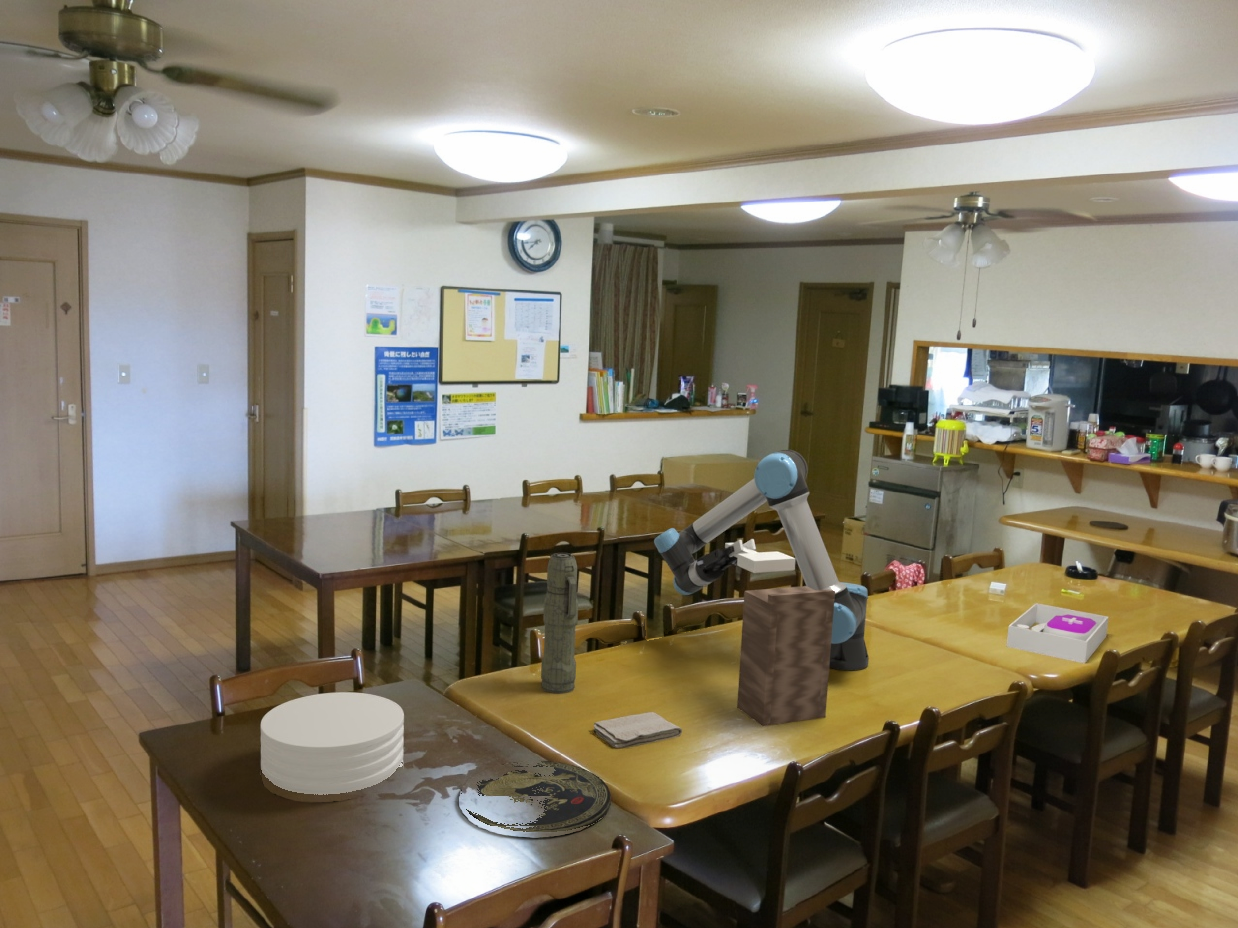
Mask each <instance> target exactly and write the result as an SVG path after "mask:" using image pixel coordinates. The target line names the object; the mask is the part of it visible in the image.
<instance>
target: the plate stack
mask: <svg viewBox="0 0 1238 928" xmlns="http://www.w3.org/2000/svg"><path fill="white" fill-rule="evenodd" d="M404 713H405V712H404V710H403V708H402V707H401V706H400V705H399V704H398V703H396V702H395V701H394V700H392V699H388V698H387V697H383V696H380V695H375V694H370V693H362V692H353V691H351V692H349V691H348V692H340V691H339V692H327V693H317V694H312V695H307V696H302V697H297V698H295V699H291V700H288V701H286V702H283V703H281V704H279V705H277V706H275V707H273V708H272V709H271V710H269V711H267V713H266V714H265V715H264V716H263V717H262V719H261V721H260V745H261V746H260V769H261V770H262V773H263V774H264V775H265V777H266V778H268V779H269V781H271V782H272V783H273V784H274V785H276V786H278V787H280V788H282V789H285V790H288V791H292V792H297V793H304V794H314V795H315V794H316V795H317V794H318V795H323V794H324V795H326V794H327V795H328V794H340V793H346V792H347V793H348V792H352V791H356V790H361V789H364V788H367V787H371V786H373V785H376V784H378V783H380V782H382V781H383V780H385V779H387V778H388V777H390V776H391V775H392V774H393V773H394V772H395V771H396V769H397V768H398V767H402V766H403V767H404V743H405V742H404V739H405V738H404V734H405V728H404V727H405V726H404V723H405V714H404ZM401 762H403V764H402V763H401ZM399 765H400V766H399ZM261 770H260V771H261Z"/></svg>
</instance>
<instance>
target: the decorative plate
mask: <svg viewBox="0 0 1238 928" xmlns="http://www.w3.org/2000/svg"><path fill="white" fill-rule="evenodd" d="M520 761H521V762H526V761H527V760H523V761H522V760H520ZM540 761H541V762H542V763H545V764H546V765H547V766H546V767H548V766H550V767H554V769H555V770H556V771H554V773H552V774H553V775H554V776H553V775H552V776H553V777H554V778H553V777H551V776H550V775H549V776H550V777H549V776H548V777H549V778H547V777H546V776H545V775H544V776H545V777H546V778H545V777H542V776H541V774H539V773H538V774H539V775H540V776H538V775H535V774H536V773H535V774H532V773H530V772H527V771H525V770H522V771H519V770H515V771H518V772H512V771H511V772H508V773H506V774H504V775H503V776H502V777H500V778H501V779H502V780H501V779H499V778H498V779H496V780H493V779H491V778H490V780H488V781H486V780H484V779H483V780H482V782H480V781H479V782H480V783H481V784H479V783H478V782H477V783H478V784H479V785H480V786H479V785H477V784H476V785H477V786H478V788H479V790H480V791H479V790H478V789H477V790H478V791H479V792H480V793H479V792H478V793H479V794H482V796H484V795H486V796H509V797H511V796H512V798H513V799H514V803H515V802H518V801H520V802H524V800H525V799H524V798H525V797H523V798H519V797H521V796H551V797H549V798H551V799H549V798H545V799H547V800H544V801H545V802H544V801H543V803H545V804H542V806H543V805H545V806H544V809H545V810H547V811H545V810H544V812H543V813H545V814H541V815H543V816H541V817H542V818H540V817H539V818H537V819H536V820H538V821H534V822H536V823H534V822H532V823H527V824H529V825H527V824H525V825H521V824H519V825H520V826H534V827H533V828H532V827H529V828H526V829H523V828H522V829H521V828H514V827H511V828H510V827H506V826H518V825H515V824H512V825H509V824H507V825H504V824H505V823H504V824H502V823H500V824H497V823H498V822H493V821H491V820H489V819H487V818H485V817H483V816H481V815H479V814H478V815H476V814H477V813H475V814H473V813H474V812H473V813H472V812H471V811H469V810H467V809H466V810H467V811H468V812H469V814H470V815H472V816H473V817H474V818H476V819H478V820H479V821H481V822H483V823H485V824H487V825H490V826H498V827H501V828H504V829H510V830H513V831H523V832H525V831H526V832H557V831H566V830H567V831H568V830H572V829H576V828H580V827H583V826H588V825H591V824H593V823H595V822H596V821H598V820H599V819H600V818H602V817H603V816H604V815H605V814H606V813H607V814H608V812H609V810H610V807H611V805H612V804H611V803H612V795H611V794H612V793H611V791H610V789H609V786H608V785H607V784H606V783H605V781H604V780H603V779H602V778H600V776H598V775H596V774H595V773H593V772H591V771H589V770H587V769H586V768H583V767H579V766H577V765H572V764H567V763H565V762H564V763H563V762H560V761H559V762H558V761H553V760H551V761H550V760H540ZM513 763H517V764H521V763H518V761H513ZM501 764H502V765H503V766H504V764H505V763H501ZM506 764H510V765H512V767H513V766H514V767H528V766H520V765H517V766H515V765H513V764H511V762H506ZM537 764H538V765H536V766H533V767H537V766H539V767H543V766H545V765H542V764H540V763H537ZM526 765H529V764H526ZM540 765H541V766H540ZM504 767H508V766H506V765H505V766H504ZM524 769H525V768H524ZM506 772H507V771H506ZM542 778H544V779H545V780H544V779H542ZM551 778H552V779H551ZM547 779H548V780H547ZM545 781H546V782H545ZM539 786H540V787H539ZM536 787H537V788H536ZM543 787H544V788H543ZM532 788H533V789H532ZM540 788H542V789H543V790H542V789H540ZM537 789H539V790H540V791H539V790H537ZM460 790H461V789H460ZM532 790H536V792H535V791H532ZM461 791H462V790H461ZM542 791H543V792H542ZM538 792H539V793H538ZM534 793H536V794H534ZM461 794H462V793H461ZM479 794H478V795H479ZM479 796H480V795H479ZM517 796H518V798H514V797H517ZM530 798H531V797H530ZM513 799H510V800H513ZM519 799H520V800H519ZM516 800H518V801H516ZM528 800H531V801H533V799H527V800H526V803H527V802H530V801H528ZM548 800H549V801H548ZM537 801H538V800H537ZM540 802H542V801H540ZM540 802H539V804H541V803H540ZM531 803H533V802H531ZM531 805H532V804H531ZM546 806H547V807H546ZM538 807H539V806H538ZM545 807H546V808H545ZM541 808H542V807H541ZM607 814H606V815H607ZM606 815H605V816H606ZM539 816H540V815H539ZM605 816H604V817H605ZM604 817H603V818H604ZM603 818H602V819H603ZM530 822H531V821H530ZM516 824H518V823H516ZM522 824H523V823H522ZM536 826H537V827H536Z"/></svg>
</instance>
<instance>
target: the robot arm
mask: <svg viewBox="0 0 1238 928" xmlns="http://www.w3.org/2000/svg"><path fill="white" fill-rule="evenodd" d="M808 471H809V468H808V464H807V461H806V460H805V458H804V457H803V456H802V454H801V453H799V452H797V451H795V450H792V449H782V450H778V451H776V452H773V453H769V454H768V455H766V456H764V457H763V458H762V459H761V460H760V461H759V462H758V463H757V466H756V467H755V470H754V474H753V476H754V477H753V479H751V480H750V481H748V482H747V483H745V485H742V487H740V488H738V489H737V490H736V491H735V492H734V493H732V494H730V495H729V496H728V497H727V498H725V499H724V500H723V501H721V502H720V503H718V504H716V505H715V506H714V507H713V508H711V509H710V510H709V511H707V512H706V513H704V514H703V515H702V516H700V517H699V518H697V519H696V520H695V521H694V522H692V523H691V524H689V525H688V526H686V527H685V528H684V529H682V530H681V531H679V532H678V531H677V530H676V529H675V528H674V527H671V528H669V529H666V531H664V532H662V533H661V534H659V535H658V536H657V537H655V538H654V540H653V543H654V546H655V547H656V548H657V551H658V553H659V554H660V556H661V558H663V561H664V562H665V563H666V564H667V566H668V567H669V569H670V571H671V573H672V574H673V579H672V582H673V583H672V584H673V587H674V589H675V590H676V592H677V593H679V594H680V595H683V596H689V595H692V594H695V593H696V592H698V591H700V590H701V589H703V588H707V586H708V585H710V584H711V583H713V582H715V581H716V580H719V579H721V577H722V576H723V575H724V573H725V570H727V568H730V567H731V566H732V565H734V566H736V567H738V566H737V559H738V558H737V557H734V555H736V554H737V553H739V552H741V551H742V550H744V549H743V546H744V547H747V548H749V549H752V550H754V551H756V549H757V547H756V544H755V539H754V538H751V539H750V540H747V542H745V543H743V540H742V539H738V540H737V541H735V542H732V543H733V544H732V545H730V546H729V547H727V548H725V547H723V548H721V549H720V548H715V550H713V551H711V552H709V553H705V554H704V555H703V556H701V557H699V558H697V559H696V560H695V558H694V556H693V554H695V553H697V552H698V551H700V550H701V549H702V548H703V547H705V545H707V544H708V543H710V542H711V541H713V540H714V539H715V538H716V537H718V536H720V535H721V534H723V532H725V531H726V530H728V529H729V528H731V527H732V526H734V525H735V524H737V523H738V522H739V521H741V520H743V518H745V517H747V516H748V515H749V514H750V513H751V514H752V513H753V511H755V510H756V509H758V508H759V507H760V506H762V505H763V504H765V503H766V502H767V504H768V506H769V508H770V509H772V510H775V511H776V512H777V514H778V517H779V520H780V523H781V524H782V527H783V529H784V533H785V535H786V537H787V540H788V542H789V545H790V548H791V551H792V553H793V555H794V558H795V561H796V564H797V565H798V568H799V570H800V573H801V575H802V578H803V581H804V583H805V586H807V587H809V588H811V589H814V590H828V589H832V590H834V591H835V599H834V612H833V625H832V638H831V651H830V664H829V669H830V668H831V669H835V670H840V671H858V670H859V671H860V670H863V669H866V668H867V667H868V666H869V659H870V658H869V654H868V650H867V645H866V644H867V643H866V642H865V630H866V619H867V618H866V617H867V606H868V605H867V604H868V599H869V597H868V596H869V595H868V588H866V587H865V585H861V584H856V583H850V582H841V581H839V579H838V576H837V574H836V571H835V569H834V566H833V563H832V562H831V558H830V556H829V553H828V551H827V549H826V546H825V543H824V541H823V538H822V536H821V533H820V531H819V528H818V526H817V523H816V520H815V518H814V516H813V513H812V510H811V508H810V505H809V503H808V496H809V495H810V490H809V487H808V485H807V482H806V480H807V477H808V476H807V475H808Z"/></svg>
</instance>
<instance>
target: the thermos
mask: <svg viewBox="0 0 1238 928" xmlns="http://www.w3.org/2000/svg"><path fill="white" fill-rule="evenodd" d="M546 571H547V573H546V594H545V597H544V600H543V620H542V621H543V624H544V639H543V640H544V641H543V642H544V644H543V647H544V648H543V657H542V660H541V669H540V670H541V671H540V672H541V673H540V679H541V683H540V684H541V685H540V686H541V688H540V689H541V690H542V691H544V692H547V693H550V694H561V695H562V694H567V693H571V692H572V691H574V690H575V689H574V688H576V687H575V683H576V680H577V679H576V677H577V675H576V673H577V661H576V658H575V651H576V650H575V649H576V648H575V646H576V626H577V624H578V622H579V621H578V619H579V600H578V595H577V591H578V590H577V588H578V583H577V582H578V565H577V560H576V557H575V556H574V555H573V554H572V553H568V552H558V553H557V552H556V553H553V554H551V555H550V558H549V560H548V564H547V570H546Z"/></svg>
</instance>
